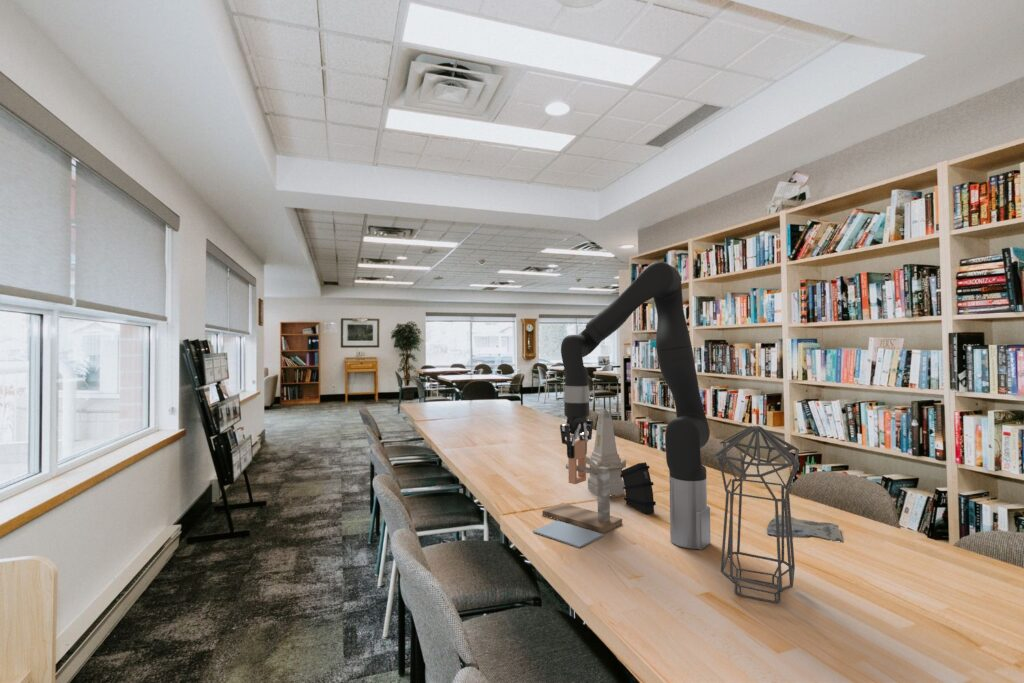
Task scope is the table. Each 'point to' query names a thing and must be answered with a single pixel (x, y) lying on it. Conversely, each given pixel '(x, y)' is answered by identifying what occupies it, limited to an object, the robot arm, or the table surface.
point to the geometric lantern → (784, 502)
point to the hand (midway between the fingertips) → (577, 456)
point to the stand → (589, 518)
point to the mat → (568, 533)
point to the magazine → (638, 488)
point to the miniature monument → (606, 456)
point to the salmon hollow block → (572, 463)
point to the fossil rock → (807, 529)
